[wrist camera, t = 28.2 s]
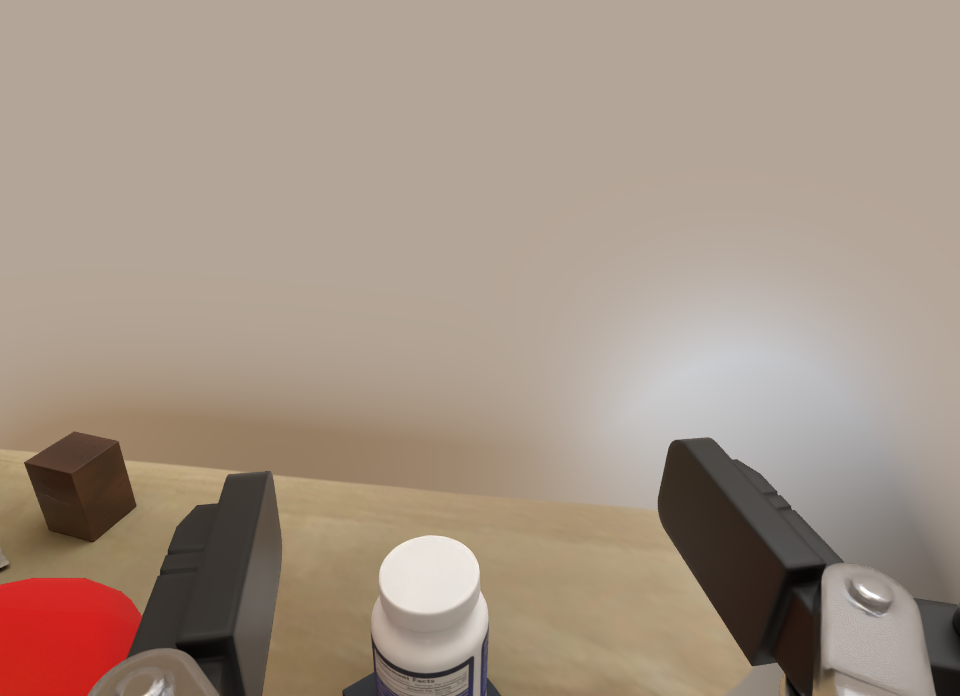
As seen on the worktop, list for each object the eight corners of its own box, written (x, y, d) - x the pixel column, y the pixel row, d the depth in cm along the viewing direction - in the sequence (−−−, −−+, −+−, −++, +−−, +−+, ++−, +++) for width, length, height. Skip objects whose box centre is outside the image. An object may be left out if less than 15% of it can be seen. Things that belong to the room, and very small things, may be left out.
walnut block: (93, 542, 42) (70, 473, 40) (48, 529, 43) (23, 462, 41) (136, 505, 46) (118, 440, 43) (94, 495, 47) (73, 431, 44)
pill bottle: (419, 643, 35) (416, 511, 31) (504, 690, 33) (514, 554, 29) (354, 726, 31) (340, 586, 27) (447, 789, 28) (448, 645, 24)
